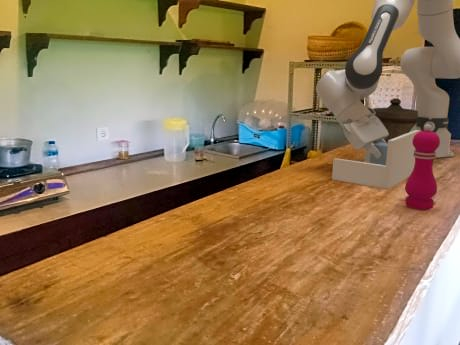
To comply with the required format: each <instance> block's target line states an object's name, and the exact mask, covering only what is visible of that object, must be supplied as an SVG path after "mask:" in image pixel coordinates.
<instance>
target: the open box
mask: <svg viewBox="0 0 460 345" xmlns="http://www.w3.org/2000/svg"><path fill="white" fill-rule="evenodd" d="M418 132H420V130H415V131H412V132H409V133H407V134H404V135H401V136H399V137H396V138H393V139H391V140H388V148H387V158H386V165H379V164H372V163H370V154H371V152H369V151H368V150H367V149H366V148H364V153H363V161H358V160H350V159H345V158H344V159H343V158H336V157H335V158H333V159H332V160H333V161H332V172H331V173H332V175H331V180H333V181H340V182H344V183H349V184H356V185H362V186H367V187H372V188H379V189H384V190H389V189H391V188H393V187H395V186H396V185H398V184H400V183H401V182H403V181H404V180H407V179H408V178H409V176H410V175H411V173H412V171H413V169H414V165H415V157H414V156H413V155H414V150H415V147H414V146H413V138H414V136H415V134H417V133H418Z"/></svg>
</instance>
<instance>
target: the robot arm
mask: <svg viewBox="0 0 460 345" xmlns="http://www.w3.org/2000/svg"><path fill="white" fill-rule="evenodd" d="M415 2H416V6H417V7H416V12H417V28H418V29H417V30H418V34H419V36H420V37H421V38H422V39H424V40H426V41H427V42H429V43H430V44H432V46H418V47H412V48H408V49H406V50H405V51H404V52H403V54H402V55H401V58H400V61H399V65H400V70H401V71H402V73H403V74H404V75H405V76H406V77H407V78H408V79H409V80H410V82H411V83H412V85H413V88H414V90H415V91H414V92H415V110H416V111H418V117H417V123H416V130H420V131H425V130H424V126H425V125H426V124H429V125H431V127H432V129H431V131H432V132H435V133H436V134H437V135H438V136H439V138H440V145H439V147H438V148H437V149H436V150H435V152H436V158H446V157H453V158H454V157H455V153H454V152H453V151H452V150H451V149H450V146H451V137H452V133H451V132H450V131H449V129H448V126H449V117H448V113H449V106H450V95H449V94H448V92H447V91H445V90H444V89H442V88H440V87H439V86H437V84H436V79H448V80H449V79H450V80H451V79H452V80H453V79H460V37H459V35H458V34H457V31H456V29H455V24H454V6H453V0H375V1H374V3H373V7H372V10H371V17H370V19H371V22H370V25H369V27H368V29H367V32H366V35H365V36H364V39H363V41H362V43H361V45H360V46H359V47H358V49H357V50H356V51H354V53H352V55H350V57H349V58H348V59H347V61H346V63H345V67H344V69H339V70H332V69H330V70H327V71H326V72H324V74H322V75H321V76H320V77H319V79H318V81H317V83H316V86H315V92H316V95H317V96H318V98H319V100H320V101H321V102H322V103H323V105H324V106H325V108H326V109H327V110H328V111H329V112H331V113H332V115H333V116H334V118H335V120H336V121H337V122H338V124H339V126H340V127H342V130H343V131H342V132H343V134H344V136H345V137H346V139H347V140H348V142H349V143H350V145H351V146H352V147H353V149H355V150H356V151H359V150H361V149H365V148H366V149H367V150H368V151H369V152H371V153H372V154H373V155H374V156H375V157H376V158H379V157H381V156H382V155H383V153H382V152H381V151H380V150H378V149H377V148H376V147H375V146H374V144H373V143H376V142H383V143H386V141H385V140H384V139H385V138H386V137H387V136H388V135H389V133H388V131H387V129H386V128H385V126H384V125H383V124H382V122H381V121H380V120H379V118H378V117H377V116H375V114H376V113H375V111H374V110H373V109H374V108H371V107H368V106H367V105H365V104H364V103H363V102H362V101H361V100H363V99H365V98H367V97H369V96H371V95H372V94H373V93H375V91H376V90H377V88H378V86H379V81H380V79H381V78H380V77H381V76H382V73H383V68H384V66H383V65H384V64H383V55H384V54H383V53H384V51H385V48H386V46H387V44H388V41H389V39H390V37H391V35H392V32H393V31H396V30H399V29H401V28H402V27H403V25H404V24H405V23H406V21H407V19H408V17H409V16H410V13H411V12H412V9H413V7H414V4H415Z"/></svg>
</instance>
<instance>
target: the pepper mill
mask: <svg viewBox="0 0 460 345" xmlns="http://www.w3.org/2000/svg"><path fill="white" fill-rule="evenodd" d="M431 129H432V127H431V125H429V124H426V125H425V126H424V130H425V131H420V132H418V133H417V134H415V136H414V138H413V146H414V147H415V150H414V155H413V156H414V157H415V165H414V169H413V171H412V173H411V175H410V176H409V177H408V178H407V179H406V182H405V185H404V190H405V192H406V194H407V195H408V196H406V197H405V206H406V207H407V208H410V209H414V210H421V211H422V210H423V211H425V210H426V211H427V210H430V209H432V208H433V207H434V206H433V205H434V199H432V198H433V197H435V196H436V195H437V193H438V192H437V191H438V184H437V183H438V182H437V181H436V180H437V179H436V178H435V176H434V173H433V172H434V170H433V165H434V164H433V163H434V159H436V158H437V157H436V152H435V150H436V149H437V148H438V147H439V145H440V138H439V136H438V135H437V134H436V133H435V132H432V131H431Z"/></svg>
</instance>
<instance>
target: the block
mask: <svg viewBox="0 0 460 345" xmlns="http://www.w3.org/2000/svg"><path fill="white" fill-rule="evenodd" d="M373 144H374V146H375V147H376V148H377V149H378V150H380V151H381V152H382V153H383V155H382V156H381V157H379V158H376V157H375V156H374V155H373V154H372V153H371V154H370V163H372V164H379V165H386V158H387V148H388V143H383V142H376V143H373Z"/></svg>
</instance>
